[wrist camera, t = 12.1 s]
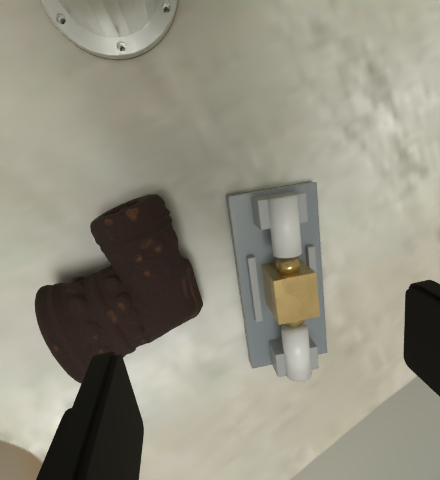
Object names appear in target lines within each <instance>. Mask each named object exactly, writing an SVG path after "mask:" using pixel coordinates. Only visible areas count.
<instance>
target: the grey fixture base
mask: <svg viewBox="0 0 440 480" xmlns="http://www.w3.org/2000/svg"><path fill="white" fill-rule="evenodd" d="M226 197H227V205H228V212H229V219H230V226H231V233H232V240H233V247H234V254H235V261H236V268H237V275H238V282H239V289H240V296H241V303H242V310H243V317H244V325H245V332H246V339H247V346H248V353H249V360H250V363H251V366H252V368H257V367H262V366H267V365H271V364H272V365H273V367H274V369H275V371H276V374H277V376H278V377H281V376H285V375H286V376H287V377H288V378H289V379H290V380H293V381H296V382H303V381H306V380H308V379H309V378H310V377H311V375H312V371H311V370H313V369H318V368H319V367H318V354H323V353H327V342H326V326H325V310H324V294H323V278H322V262H321V247H320V231H319V215H318V199H317V183H316V182H306V183H300V184H294V185H287V186H281V187H275V188H269V189H263V190H257V191H251V192H245V193H239V194H233V195H226ZM293 257H298V258H299V259H300V260H301V261H303V262H304V263H305V264H306V265H308V266H309V267H310V268H311V269H313V270H314V271H315V272H316V275H317V287H318V298H319V310H320V316H318V317H314V318H309V319H305V323H304V324H303V325H301V326H298V327H289V326H286V325H285V324H281V325H279V324H278V323H277V321H276V319H275V318H274V316H273V314H272V313H271V311H270V309H269V308H268V306H267V304H266V299H265V291H264V284H263V277H262V269H261V265H264V264H269V263H274V262H276V259H278V258H293Z"/></svg>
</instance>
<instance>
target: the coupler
mask: <svg viewBox="0 0 440 480" xmlns="http://www.w3.org/2000/svg"><path fill="white" fill-rule="evenodd" d="M261 269H262V277H263V284H264V291H265V299H266V304H267V306H268V308H269V309H270V311H271V313H272V314H273V316H274V318H275V319H276V321H277V323H278V324H279V325H281V324H285V325H286V326H289V327H298V326H301V325H303V324H304V323H305V319H309V318H314V317H318V316H320V310H319V298H318V287H317V275H316V272H315V271H314V270H313V269H311V268H310V267H309V266H308V265H306V264H305V263H304V262H303V261H301V260H300V259H299V258H298V257H293V258H278V259H276V262H274V263H269V264H264V265H261Z"/></svg>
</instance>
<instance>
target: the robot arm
mask: <svg viewBox="0 0 440 480" xmlns="http://www.w3.org/2000/svg"><path fill="white" fill-rule="evenodd" d="M40 2H41V4H42V6H43V7H44V9H45V11H46V13H47V15H48V16H49V18H50V19H51V20H52V22H53V23H54V24H55V26H56V27H57V28H58V29H59V30H60V31H61V33H62V34H63V35H64V36H65V37H66V38H68V39H69V40H70V41H71V42H72V43H74V44H75V45H76V46H77V47H79V48H81V49H83V50H85V51H86V52H88V53H90V54H93V55H96V56H99V57H102V58H108V59H115V60H116V59H129V58H132V57H136V56H139V55H141V54H143V53H145V52H147V51H149V50H150V49H152V48H153V47H154V46H155V45H156V44H157V43H159V42H160V41H161V39H162V38H163V37H164V35H165V34H166V33H167V31H168V29H169V27H170V25H171V23H172V21H173V19H174V15H175V12H176V8H177V2H178V0H40ZM165 9H168V10H169V12H168V13H166V12H164V10H165ZM64 20H66V22H65V23H64V24H62V21H64ZM122 47H124V48H125V51H123V52H121V51H120V49H121V48H122ZM404 360H405V362H406V364H407V366H408V367H409V368H410V369H411V370H412V371H413V372H414V373H415V374H416V375H417V376H418V377H420V378H421V379H422V380H423V381H424V382H425V383H426V384H427V385H428V386H429V387H430V388H431V389H432V390H433V391H434V392H436V393H437V394H438V395H439V396H440V284H438V283H436V282H434V281H432V280H426V281H421V282H417V283H413V284H411V285H410V286H409V289H408V290H407V291H406V295H405V328H404ZM143 435H144V428H143V421H142V418H141V414H140V411H139V408H138V405H137V402H136V399H135V395H134V392H133V389H132V386H131V383H130V380H129V376H128V373H127V370H126V367H125V364H124V361H123V358H122V356H121V355H120V354H119V355H116V354H115V353H114V351H110V352H106V353H101V354H97V355H94V356H93V357H92V359H91V361H90V364H89V367H88V369H87V372H86V374H85V377H84V379H83V382H82V384H81V387H80V389H79V392H78V394H77V397H76V399H75V402H74V405H73V407H72V408H70V409H68V410H67V411H65V413H64V415H63V417H62V419H61V421H60V424H59V426H58V429H57V431H56V433H55V436H54V438H53V441H52V443H51V445H50V448H49V450H48V453H47V455H46V457H45V460H44V462H43V464H42V467H41V469H40V472H39V474H38V476H37V479H36V480H139V472H140V463H141V454H142V444H143Z"/></svg>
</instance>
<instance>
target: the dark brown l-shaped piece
mask: <svg viewBox="0 0 440 480" xmlns="http://www.w3.org/2000/svg"><path fill="white" fill-rule="evenodd" d="M169 214H170V211H169V210H168V209H167V208H166V206H165V203H164V201H163V199H162V198H161V197H160V196H159V195H147V196H143V197H140V198H137V199H134V200H132V201H129V202H127V203H124V204H122V205H120V206H118V207H116V208H114V209H112V210H110V211H108V212H106V213H104V214H102V215H100V216H99V217H98V218H96V219H95V220H94V221H92V223H91V225H90V227H91V233H92V234H93V236H94V238H95V241H96V243H97V244H98V245H100V247H101V250H102V252H103V253H104V254H105V256H106V257H107V259H108V260H109V262H110V263H111V265H112V266H111V267H108V268H106V269H104V270H102V271H100V272H98V273H95V274H93V275H92V276H90V277H88V278H86V279H85V278H83V277H78V278H75V279H73V281H72V282H71V283H70V284H66V283H58V284H55V285H46V286H43V287H41V288H40V289H39V290H38V292H37V293H36V298H35V312H36V317H37V322H38V325H39V328H40V331H41V334H42V336H43V338H44V340H45V342H46V344H47V346H48V348H49V349H50V351H51V353H52V354H53V356H54V357H55V359H56V360H57V361H58V363H59V364H60V365H61V366H62V368H63V369H64V370H65V371H66V372H67V374H68V375H70V376H71V377H72V378H73V379H74V380H76V381H77V382H79V383H82V382H83V379H84V377H85V374H86V372H87V369H88V367H89V364H90V361H91V359H92V357H93V356H94V355H97V354H101V353H106V352H110V351H114V353H115V354H116V355H119V354H120V355H121V356H122V358H123V357H124V356H125V355H127V354H130V353H132V352H134V351H135V349H136V347H138V346H141V345H143V344H146V343H150V342H152V341H154V340H155V339H157V338H158V337H160V336H162V335H164V334H165V333H167V332H169V331H170V330H172V329H174V328H175V327H177V326H179V325H181V324H183V323H185V322H186V321H188V320H190V319H192V318H194V317H196V316H197V315H198V314H199V312H200V310H201V308H202V306H203V302H202V299H201V296H200V293H199V290H198V286H197V283H196V280H195V276H194V272H193V268H192V266H191V263H190V262H189V261H188V260H187V259H185V258H183V257H182V256H181V255H180V252H179V250H178V239H177V236H176V233H175V231H174V230H173V227H172V224H171V223H172V219H171V217H170V216H169Z"/></svg>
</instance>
